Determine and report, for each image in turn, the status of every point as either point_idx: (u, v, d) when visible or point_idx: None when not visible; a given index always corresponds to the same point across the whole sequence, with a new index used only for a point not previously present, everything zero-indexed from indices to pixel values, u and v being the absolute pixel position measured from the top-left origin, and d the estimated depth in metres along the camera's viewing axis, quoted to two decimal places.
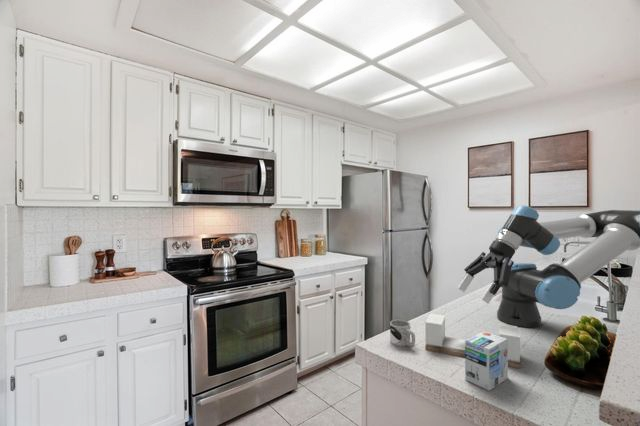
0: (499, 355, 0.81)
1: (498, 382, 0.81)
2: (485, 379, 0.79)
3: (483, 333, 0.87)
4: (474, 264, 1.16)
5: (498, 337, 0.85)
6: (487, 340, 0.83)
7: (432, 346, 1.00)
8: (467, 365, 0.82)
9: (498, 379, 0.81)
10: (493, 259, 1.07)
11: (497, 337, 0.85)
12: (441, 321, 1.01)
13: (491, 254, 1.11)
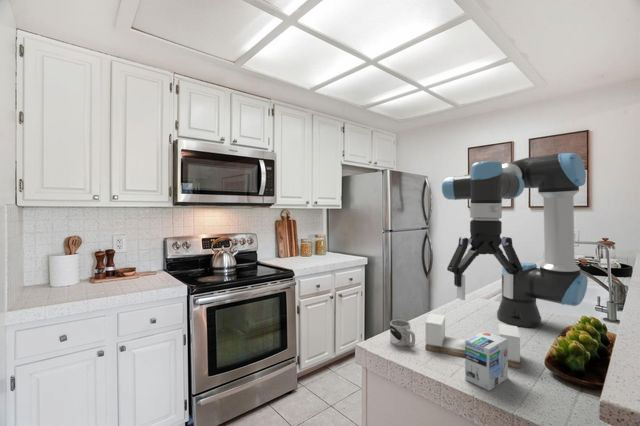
0: (499, 355, 0.81)
1: (498, 382, 0.81)
2: (485, 379, 0.79)
3: (483, 333, 0.87)
4: None
5: (498, 337, 0.85)
6: (487, 340, 0.83)
7: (432, 346, 1.00)
8: (467, 365, 0.83)
9: (498, 379, 0.81)
10: (495, 246, 0.82)
11: (497, 337, 0.85)
12: (441, 321, 1.01)
13: (481, 238, 0.82)
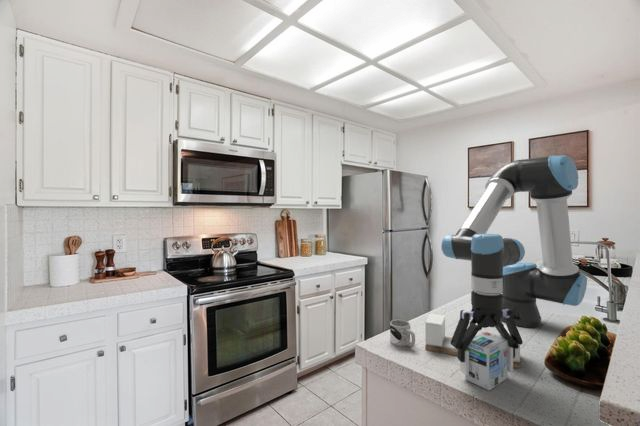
0: (498, 355, 0.81)
1: (498, 382, 0.81)
2: (485, 379, 0.79)
3: (483, 333, 0.87)
4: None
5: (498, 337, 0.85)
6: (487, 340, 0.83)
7: (432, 346, 1.00)
8: None
9: (498, 379, 0.81)
10: (497, 319, 0.82)
11: (497, 337, 0.85)
12: (441, 321, 1.01)
13: (482, 311, 0.82)
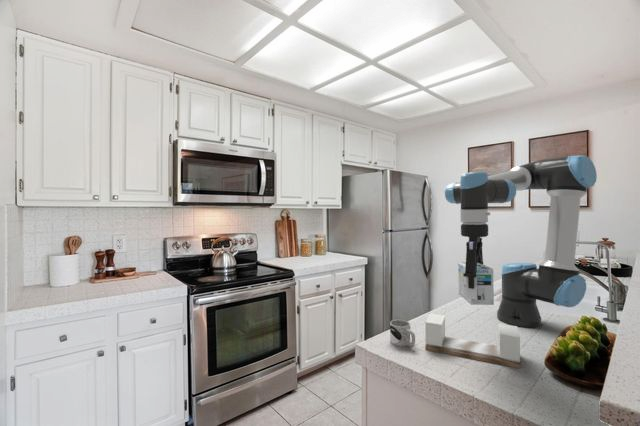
0: None
1: None
2: (490, 296, 0.90)
3: (462, 263, 0.99)
4: None
5: None
6: None
7: (432, 346, 1.00)
8: None
9: None
10: None
11: None
12: (441, 321, 1.01)
13: (477, 240, 0.93)
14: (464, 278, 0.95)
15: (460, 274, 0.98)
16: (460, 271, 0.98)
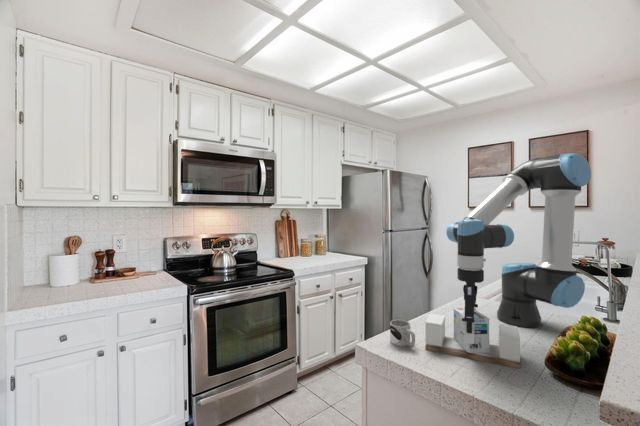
0: None
1: None
2: (486, 344, 0.94)
3: (458, 309, 1.02)
4: None
5: None
6: None
7: (432, 346, 1.00)
8: None
9: None
10: None
11: None
12: (441, 321, 1.01)
13: None
14: (461, 325, 0.98)
15: (456, 320, 1.02)
16: (456, 317, 1.02)
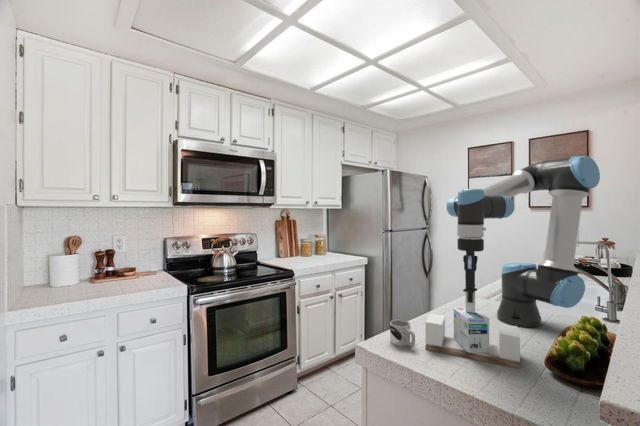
0: None
1: None
2: (486, 344, 0.94)
3: (458, 309, 1.02)
4: None
5: None
6: None
7: (432, 346, 1.00)
8: (470, 339, 0.94)
9: None
10: None
11: None
12: (441, 321, 1.01)
13: (474, 252, 0.96)
14: (461, 325, 0.98)
15: (456, 320, 1.02)
16: (456, 317, 1.02)
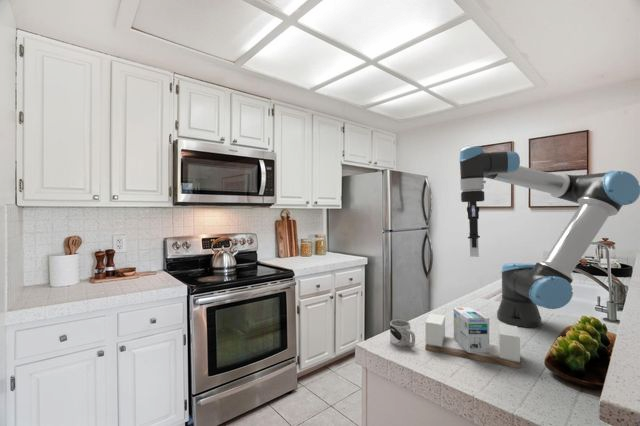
0: None
1: None
2: (486, 344, 0.94)
3: (458, 309, 1.02)
4: None
5: (468, 308, 1.03)
6: (472, 312, 0.99)
7: (432, 346, 1.00)
8: (470, 339, 0.94)
9: None
10: None
11: (467, 308, 1.03)
12: (441, 321, 1.01)
13: None
14: (461, 325, 0.98)
15: (456, 320, 1.02)
16: (456, 317, 1.02)
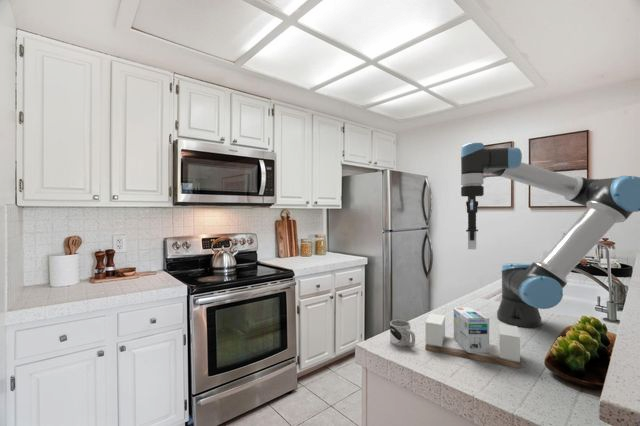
0: None
1: None
2: (486, 344, 0.94)
3: (458, 309, 1.02)
4: None
5: (468, 308, 1.03)
6: (472, 312, 0.99)
7: (432, 346, 1.00)
8: (470, 339, 0.94)
9: None
10: None
11: (467, 308, 1.03)
12: (441, 321, 1.01)
13: (475, 197, 1.12)
14: (461, 325, 0.98)
15: (456, 320, 1.02)
16: (456, 317, 1.02)
